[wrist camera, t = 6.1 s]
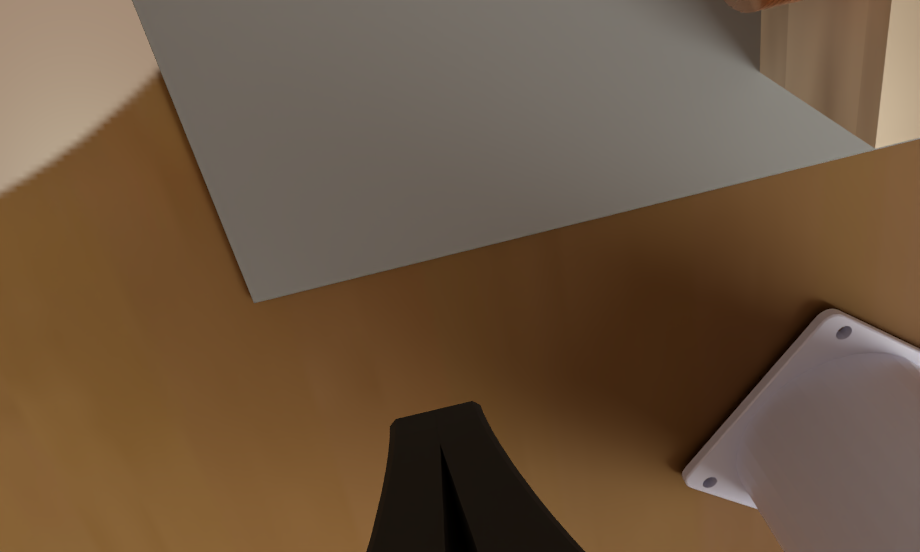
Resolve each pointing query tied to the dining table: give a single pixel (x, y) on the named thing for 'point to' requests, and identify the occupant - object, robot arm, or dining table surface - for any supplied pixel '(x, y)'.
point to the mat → (463, 120)
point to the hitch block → (849, 63)
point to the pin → (756, 4)
